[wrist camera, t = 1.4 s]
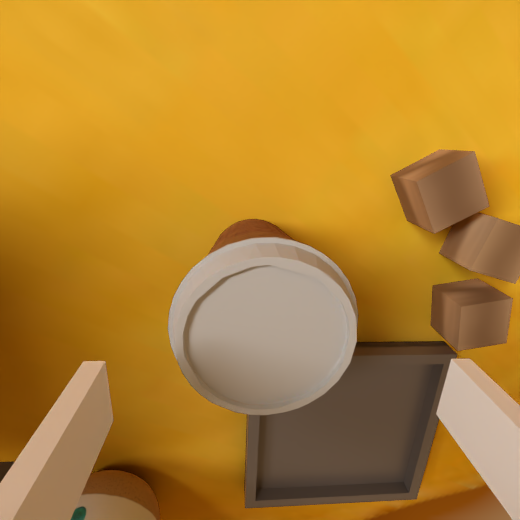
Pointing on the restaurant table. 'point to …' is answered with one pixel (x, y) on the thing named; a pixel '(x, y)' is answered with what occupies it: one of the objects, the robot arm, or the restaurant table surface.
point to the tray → (352, 432)
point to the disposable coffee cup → (263, 321)
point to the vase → (116, 498)
